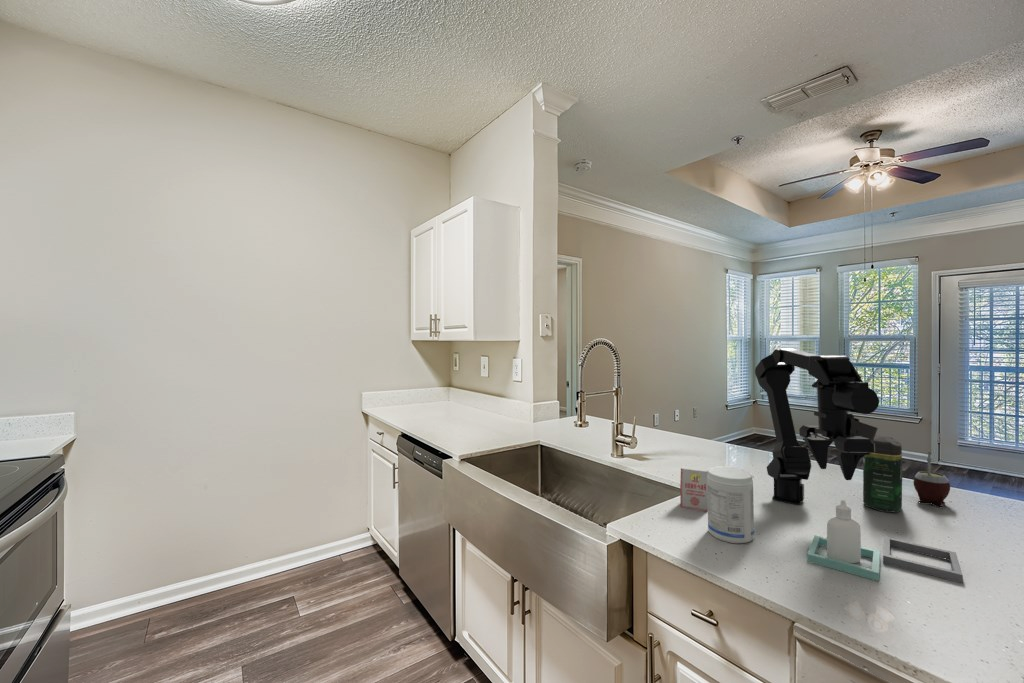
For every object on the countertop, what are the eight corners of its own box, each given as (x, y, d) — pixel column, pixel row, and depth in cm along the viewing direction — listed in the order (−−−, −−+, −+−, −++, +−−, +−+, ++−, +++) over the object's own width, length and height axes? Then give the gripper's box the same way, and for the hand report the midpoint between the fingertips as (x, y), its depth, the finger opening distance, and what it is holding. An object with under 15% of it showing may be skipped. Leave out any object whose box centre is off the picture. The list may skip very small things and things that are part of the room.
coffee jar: (902, 516, 107) (901, 442, 107) (861, 508, 113) (861, 438, 113) (903, 505, 114) (902, 436, 114) (865, 498, 120) (864, 432, 120)
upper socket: (883, 562, 85) (883, 555, 85) (883, 543, 94) (883, 536, 94) (962, 583, 78) (962, 575, 78) (955, 559, 86) (955, 552, 86)
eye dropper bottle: (825, 551, 90) (824, 495, 90) (859, 558, 87) (858, 499, 87) (828, 561, 86) (827, 501, 86) (863, 568, 84) (863, 507, 84)
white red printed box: (681, 502, 118) (681, 466, 118) (708, 506, 115) (708, 469, 115) (680, 507, 115) (680, 470, 115) (708, 511, 112) (707, 473, 112)
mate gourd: (934, 498, 119) (933, 445, 119) (961, 510, 111) (960, 452, 111) (905, 498, 119) (904, 444, 119) (929, 509, 112) (929, 452, 112)
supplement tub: (726, 523, 104) (725, 463, 104) (763, 539, 96) (763, 474, 96) (698, 531, 100) (697, 469, 100) (735, 549, 92) (734, 480, 92)
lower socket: (807, 561, 86) (807, 553, 86) (814, 541, 94) (814, 535, 94) (878, 581, 79) (878, 573, 79) (880, 558, 87) (879, 550, 87)
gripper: (900, 413, 91) (904, 487, 91) (843, 403, 110) (845, 464, 109) (844, 413, 92) (847, 486, 92) (797, 403, 111) (799, 463, 110)
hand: (835, 474), depth 101 cm, fingers open, 9 cm apart
